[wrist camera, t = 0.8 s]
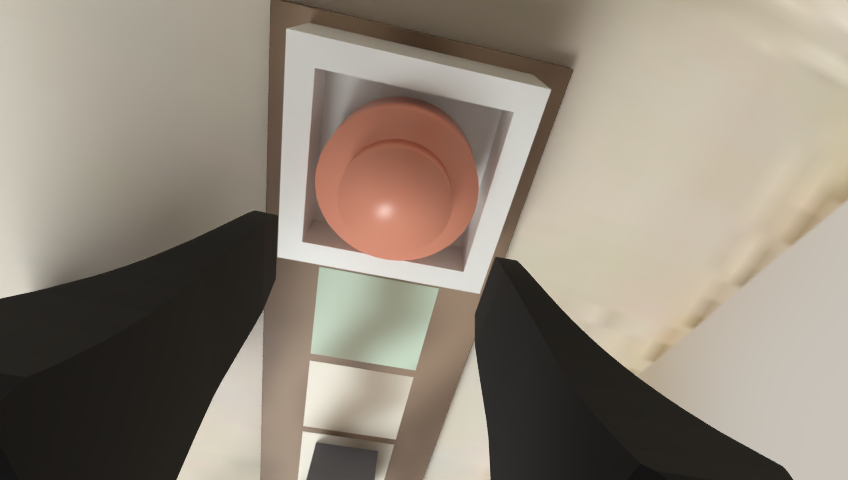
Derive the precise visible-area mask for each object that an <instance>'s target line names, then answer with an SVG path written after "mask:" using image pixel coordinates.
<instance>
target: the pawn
mask: <svg viewBox="0 0 848 480" xmlns="http://www.w3.org/2000/svg"><path fill="white" fill-rule="evenodd" d="M377 455H378V451H373V450H367V449H360V448H353V447H346V446H339V445H332V444H325V443H318V442H316V444H315V448H314V452H313V456H312V460H311V464H310V467H309V471H308V475H307V479H306V480H375V472H376V464H377Z"/></svg>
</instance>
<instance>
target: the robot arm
mask: <svg viewBox="0 0 848 480" xmlns="http://www.w3.org/2000/svg"><path fill="white" fill-rule="evenodd" d="M277 237H278V215H275V214H270V213H264V212H259V211H252V212H250V213H247V214H245V215H243V216H241V217H239V218H236V219H234V220H232V221H230V222H228V223H226V224H224V225H222V226H220V227H218V228H216V229H214V230H212V231H210V232H207V233H205V234H203V235H201V236H199V237H197V238H195V239H193V240H190V241H188V242H186V243H183V244H181V245H179V246H176V247H174V248H171V249H169V250H167V251H164V252H162V253H160V254H157V255H155V256H152V257H150V258H147V259H144V260H142V261H139V262H136V263H133V264H130V265H127V266H124V267H121V268H118V269H115V270H112V271H109V272H106V273H103V274H99V275H96V276H93V277H89V278H85V279H81V280H77V281H73V282H70V283H66V284H62V285H58V286H54V287H50V288H47V289H43V290H38V291H34V292H30V293H25V294H20V295H15V296H11V297H6V298H1V299H0V480H176V479H177V477H178V475H179V472H180V470H181V468H182V465H183V463H184V461H185V459H186V456H187V454H188V452H189V449H190V447H191V445H192V442H193V440H194V438H195V435H196V433H197V431H198V429H199V427H200V425H201V422H202V420H203V418H204V416H205V414H206V411H207V409H208V407H209V405H210V403H211V400H212V398H213V396H214V394H215V393H216V391H217V389H218V387H219V385H220V383H221V381H222V379H223V378H224V376H225V374H226V373H227V371H228V369H229V368H230V366H231V364H232V363H233V361H234V359H235V357H236V356H237V354H238V352H239V351H240V349H241V347H242V346H243V344H244V342H245V341H246V339H247V337H248V335H249V334H250V332H251V330H252V329H253V327H254V325H255V323H256V322H257V320H258V318H259V316H260V315H261V313H262V311H263V309H264V307H265V304H266V302H267V300H268V297H269V295H270V292H271V290H272V287H273V285H274V282H275V280H276V263H277ZM475 349H476V356H477V363H478V369H479V376H480V382H481V388H482V395H483V401H484V408H485V414H486V420H487V429H488V437H489V455H490V474H491V480H793V479H792V477H791V476H790V474H789V473H788V472H787V471H786V469H785V468H784V467H783V466H781V465H779V464H777V463H775V462H774V461H772V460H770V459H768V458H766V457H765V456H763V455H761V454H759V453H757V452H756V451H754V450H752V449H750V448H748V447H746V446H745V445H743V444H741V443H739V442H737V441H736V440H734V439H732V438H730V437H728V436H727V435H725V434H723V433H721V432H720V431H718V430H716V429H715V428H713V427H711V426H710V425H708V424H706V423H705V422H703V421H702V420H700V419H698V418H697V417H695V416H694V415H692V414H690V413H689V412H687V411H685V410H684V409H683V408H681V407H679V406H678V405H677V404H675V403H673V402H672V401H670V400H669V399H667V398H666V397H664V396H663V395H662V394H660V393H659V392H657V391H656V390H655V389H653V388H652V387H651V386H649V385H648V384H646V383H645V382H643V381H642V380H641V379H639V378H638V377H637V376H635V375H634V374H633V373H632V372H630V371H629V370H628V369H626V368H625V367H624V366H623V365H621V364H620V363H619V362H618V361H617V360H615V359H614V358H613V357H612V356H611V355H609V354H608V353H607V352H606V351H605V350H603V349H602V348H601V347H600V346H599V345H598V344H597V343H595V342H594V341H593V340H592V339H591V338H590V337H589V336H588V335H587V334H586V333H585V332H584V331H583V330H582V329H581V328H580V327H579V326H578V325H577V324H576V323H574V322H573V321H572V320H571V319H570V317H569V316H568V315H567V314H566V313H565V312H564V311H563V310H562V309H561V308H560V307H559V306H558V305H557V304H556V303H555V302H554V301H553V299H552V298H551V297H550V296H549V295H548V294H547V293H546V292H545V291H544V289H543V288H542V287H541V286H540V285H539V284H538V283H537V282H536V280H535V279H534V278H533V277H532V276H531V275H530V274H529V273H528V271H527V270H526V269H525V268H524V267H523V266H522V265H521V264H520V263H519V262H518V261H516V260H510V259H505V258H500V257H495V259H494V261H493V264H492V267H491V270H490V273H489V276H488V278H487V281H486V284H485V287H484V290H483V292H482V295H481V298H480V301H479V304H478V307H477V309H476V312H475Z"/></svg>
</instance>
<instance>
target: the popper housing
mask: <svg viewBox="0 0 848 480" xmlns="http://www.w3.org/2000/svg"><path fill="white" fill-rule="evenodd" d="M550 92H551V89H550V88H549V87H548V86H546V85H545V84H544V83H543V82H542V81H540V80H539V79H538V78H537V77H536V76H534V75H533V74H528V73H524V72H520V71H515V70H511V69H507V68H502V67H498V66H494V65H490V64H485V63H481V62H477V61H472V60H468V59H464V58H460V57H455V56H451V55H447V54H442V53H438V52H434V51H429V50H425V49H421V48H417V47H412V46H408V45H404V44H399V43H395V42H391V41H386V40H382V39H378V38H374V37H369V36H365V35H361V34H356V33H352V32H348V31H344V30H339V29H335V28H331V27H326V26H322V25H318V24H313V23H306V24H302V25H298V26H294V27H290V28H286V47H285V72H284V98H283V124H282V149H281V175H280V201H279V226H278V252H277V257H280V258H285V259H291V260H296V261H302V262H307V263H313V264H318V265H324V266H329V267H335V268H340V269H346V270H351V271H357V272H362V273H367V274H373V275H378V276H384V277H389V278H395V279H400V280H406V281H411V282H417V283H422V284H428V285H433V286H439V287H444V288H450V289H455V290H461V291H466V292H472V293H477V294H480V291H481V288H482V285H483V283H484V280H485V277H486V274H487V271H488V268H489V266H490V263H491V260H492V257H493V254H494V251H495V248H496V246H497V243H498V240H499V237H500V234H501V231H502V229H503V226H504V223H505V220H506V217H507V214H508V211H509V209H510V206H511V203H512V200H513V197H514V194H515V192H516V189H517V186H518V183H519V180H520V177H521V174H522V172H523V169H524V166H525V163H526V160H527V157H528V155H529V152H530V149H531V146H532V143H533V140H534V137H535V135H536V132H537V129H538V126H539V123H540V120H541V117H542V115H543V112H544V109H545V106H546V103H547V100H548V98H549V95H550ZM394 96H395V97H410V98H416V99H419V100H423V101H426V102H428V103H430V104H432V105H435V106H436V107H438V108H440V109H441V110H443V111H444V112H445V113H447V114H448V115H449V116H450V117H452V119H453V120H454V121H455V122H456V123H457V124H458V125H459V126H460V128H461V129H462V131H463V132H464V134H465V136H466V138H467V140H468V141H469V144H470V147H471V150H472V154H473V158H474V162H475V166H476V170H477V175H478V183H479V193H478V201H477V206H476V209H475V212H474V214H473V217H472V219H471V221H470V223H469V224H468V226H467V227H466V229H465V230H464V231H463V233H462V234H461V235H460V236H459V237H458V238H457V239H456V240H455V241H454V242H453V243H451V244H450V245H449V246H447V247H446V248H444V249H442V250H441V251H439V252H437V253H435V254H432V255H430V256H427V257H424V258H419V259H414V260H405V261H396V260H386V259H381V258H377V257H373V256H371V255H368V254H365V253H363V252H361V251H359V250H357V249H355V248H354V247H352V246H351V245H349V244H348V243H346V242H345V241H344V240H343V239H341V238H340V237H339V236H338V235H337V234H336V233H335V232H334V230H333V229H332V228H331V227H330V225H329V224H328V223H327V221H326V219H325V217H324V216H323V214H322V211H321V209H320V207H319V204H318V200H317V196H316V189H315V174H316V168H317V164H318V161H319V158H320V155H321V153H322V151H323V149H324V147H325V145H326V144H327V143H328V141H329V140H330V138H331V137H332V135H333V134H334V132H335V131H336V130H337V128H338V127H339V125H340V124H341V123H342V122H343V120H344V119H345V118H346V117H347V116H348V115H349V114H351V113H352V112H353V111H354V110H356V109H357V108H359V107H361V106H362V105H364V104H366V103H369V102H371V101H373V100H377V99H381V98H386V97H394Z"/></svg>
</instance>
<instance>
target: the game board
mask: <svg viewBox="0 0 848 480" xmlns="http://www.w3.org/2000/svg"><path fill="white" fill-rule="evenodd" d="M306 23H313V24H318V25H322V26H326V27H331V28H335V29H339V30H344V31H348V32H352V33H356V34H361V35H365V36H369V37H374V38H378V39H382V40H386V41H391V42H395V43H399V44H404V45H408V46H412V47H417V48H421V49H425V50H429V51H434V52H438V53H442V54H447V55H451V56H455V57H460V58H464V59H468V60H472V61H477V62H481V63H485V64H490V65H494V66H498V67H502V68H507V69H511V70H515V71H520V72H524V73H528V74H533V75H534V76H536V77H537V78H538V79H539V80H540V81H542V82H543V83H544V84H545V85H546V86H548V87H549V88H550V89H551V92H550V95H549V98H548V100H547V103H546V106H545V109H544V112H543V115H542V117H541V120H540V123H539V126H538V129H537V132H536V135H535V137H534V140H533V143H532V146H531V149H530V152H529V155H528V157H527V160H526V163H525V166H524V169H523V172H522V174H521V177H520V180H519V183H518V186H517V189H516V192H515V194H514V197H513V200H512V203H511V206H510V209H509V211H508V214H507V217H506V220H505V223H504V226H503V229H502V231H501V234H500V237H499V240H498V243H497V246H496V248H495V251H494V254H493V257H492V260H491V263H490V266H489V268H488V271H487V274H486V277H485V280H484V283H483V285H482V288H481V291H480V294H477V293H472V292H466V291H461V290H455V289H450V288H444V287H439V286H433V285H428V284H422V283H417V282H411V281H406V280H400V279H395V278H389V277H384V276H378V275H373V274H367V273H362V272H357V271H351V270H346V269H340V268H335V267H329V266H324V265H318V264H313V263H307V262H302V261H296V260H291V259H285V258H280V257H277V263H276V280H275V282H274V285H273V287H272V290H271V292H270V295H269V297H268V300H267V302H266V304H265V307H264V332H263V379H262V426H261V473H260V480H306V479H307V475H308V471H309V467H310V464H311V460H312V456H313V452H314V448H315V444H316V442H318V443H325V444H332V445H339V446H346V447H353V448H360V449H367V450H373V451H378V455H377V464H376V472H375V480H422V479H423V477H424V474H425V471H426V468H427V466H428V463H429V460H430V458H431V455H432V452H433V449H434V447H435V444H436V441H437V439H438V436H439V433H440V430H441V428H442V425H443V422H444V420H445V417H446V414H447V411H448V409H449V406H450V403H451V401H452V398H453V395H454V392H455V390H456V387H457V384H458V382H459V379H460V376H461V373H462V371H463V368H464V365H465V363H466V360H467V357H468V354H469V352H470V349H471V346H472V344H473V341H474V338H475V312H476V309H477V307H478V304H479V301H480V298H481V295H482V292H483V290H484V287H485V284H486V281H487V278H488V276H489V273H490V270H491V267H492V264H493V261H494V259H495V257H500V258H504V257H505V254H506V251H507V249H508V246H509V243H510V241H511V238H512V235H513V232H514V230H515V227H516V224H517V222H518V219H519V216H520V213H521V211H522V208H523V205H524V203H525V200H526V197H527V194H528V192H529V189H530V186H531V184H532V181H533V178H534V175H535V173H536V170H537V167H538V165H539V162H540V159H541V156H542V154H543V151H544V148H545V146H546V143H547V140H548V137H549V135H550V132H551V129H552V127H553V124H554V121H555V118H556V116H557V113H558V110H559V108H560V105H561V102H562V99H563V97H564V94H565V91H566V89H567V86H568V83H569V80H570V78H571V75H572V72H573V70H572V69H571V68H568V67H564V66H560V65H555V64H551V63H547V62H543V61H539V60H534V59H530V58H526V57H522V56H517V55H513V54H509V53H505V52H500V51H496V50H492V49H488V48H483V47H479V46H475V45H471V44H467V43H462V42H458V41H454V40H450V39H445V38H441V37H437V36H433V35H428V34H424V33H420V32H416V31H412V30H407V29H403V28H399V27H395V26H390V25H386V24H382V23H378V22H373V21H369V20H365V19H361V18H356V17H352V16H348V15H344V14H340V13H335V12H331V11H327V10H323V9H318V8H314V7H310V6H306V5H301V4H297V3H293V2H289V1H285V0H271V2H270V49H269V96H268V143H267V191H266V213H270V214H275V215H278V226H279V201H280V175H281V149H282V124H283V98H284V72H285V47H286V28H290V27H294V26H298V25H302V24H306ZM277 252H278V237H277Z"/></svg>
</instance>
